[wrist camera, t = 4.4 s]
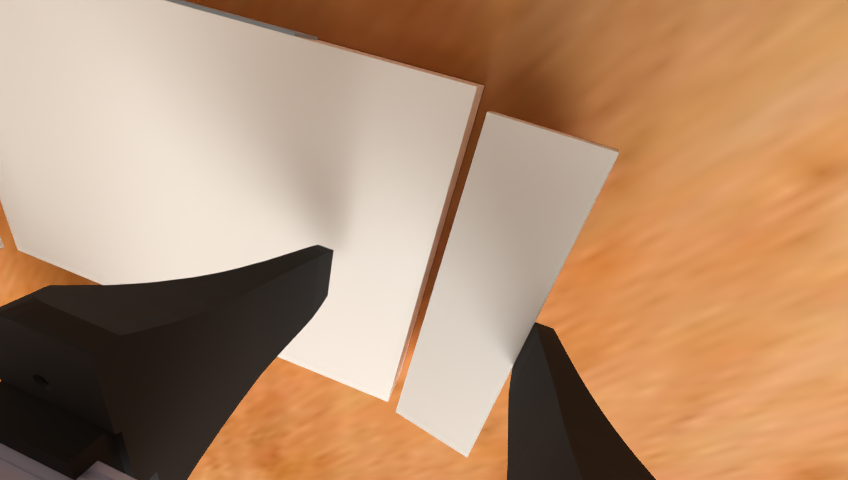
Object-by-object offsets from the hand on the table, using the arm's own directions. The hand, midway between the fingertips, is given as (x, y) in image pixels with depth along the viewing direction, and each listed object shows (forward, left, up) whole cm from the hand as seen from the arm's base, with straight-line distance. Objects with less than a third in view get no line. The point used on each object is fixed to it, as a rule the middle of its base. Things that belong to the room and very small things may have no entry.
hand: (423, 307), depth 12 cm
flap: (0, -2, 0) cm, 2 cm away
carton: (0, +12, -3) cm, 12 cm away
